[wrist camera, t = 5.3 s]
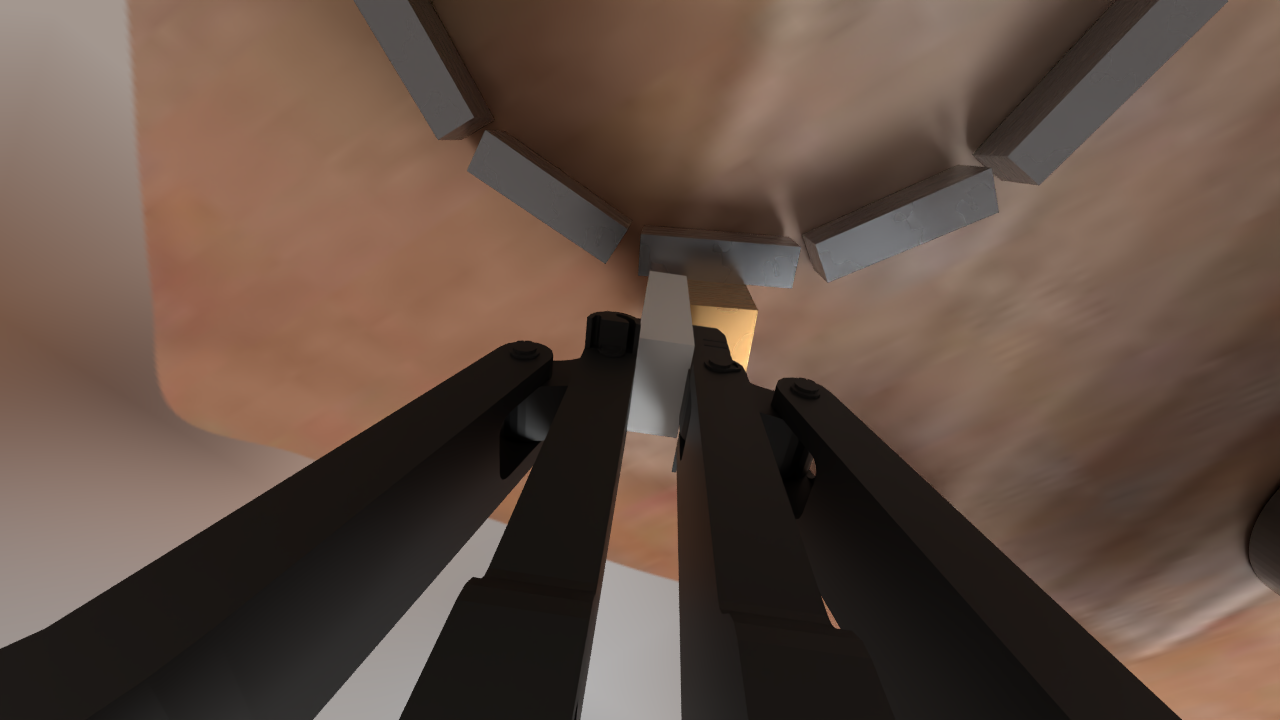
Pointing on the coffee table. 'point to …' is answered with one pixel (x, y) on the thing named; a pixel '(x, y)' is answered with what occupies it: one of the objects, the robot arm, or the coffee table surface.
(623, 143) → the coffee table surface
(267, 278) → the coffee table surface
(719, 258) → the bezel
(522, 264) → the coffee table surface
